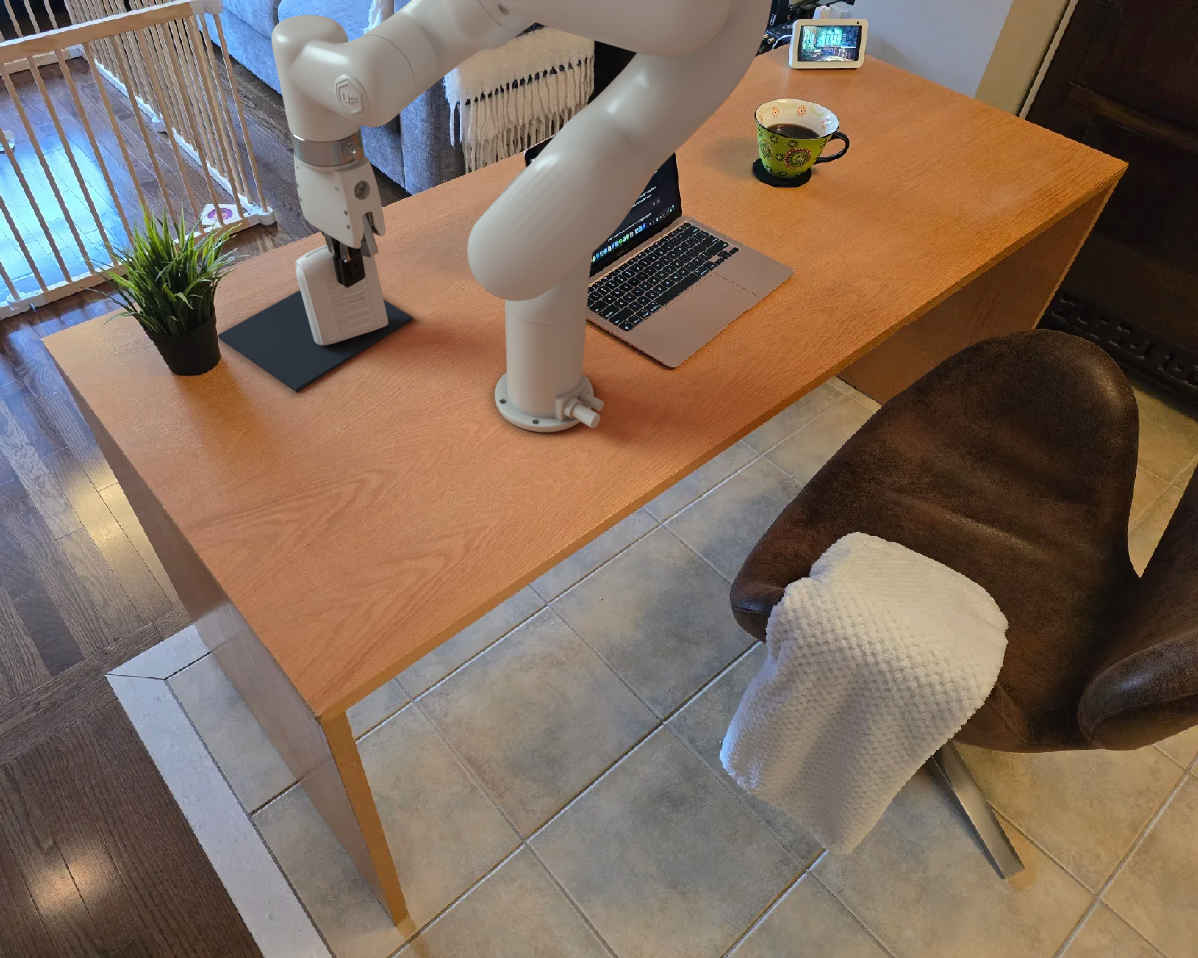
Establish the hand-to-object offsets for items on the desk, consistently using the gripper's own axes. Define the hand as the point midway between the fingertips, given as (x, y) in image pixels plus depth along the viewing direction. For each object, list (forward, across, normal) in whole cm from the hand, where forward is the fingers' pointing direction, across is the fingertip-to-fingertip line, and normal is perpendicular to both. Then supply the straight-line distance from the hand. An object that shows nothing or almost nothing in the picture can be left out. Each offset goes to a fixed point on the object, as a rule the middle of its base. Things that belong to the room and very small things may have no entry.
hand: (351, 280), depth 110 cm
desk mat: (+10, +7, +2) cm, 13 cm away
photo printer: (+10, +2, 0) cm, 10 cm away
